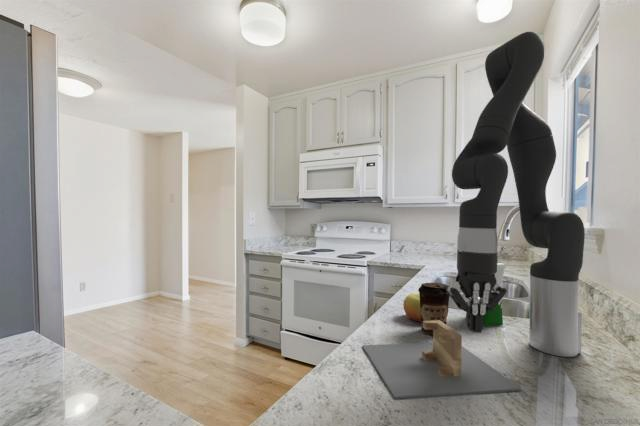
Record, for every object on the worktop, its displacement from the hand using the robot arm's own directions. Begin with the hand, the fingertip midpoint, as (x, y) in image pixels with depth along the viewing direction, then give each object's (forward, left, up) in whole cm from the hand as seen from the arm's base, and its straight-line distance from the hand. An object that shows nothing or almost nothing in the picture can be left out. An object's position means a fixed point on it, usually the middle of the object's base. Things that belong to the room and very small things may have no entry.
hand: (474, 331), depth 62 cm
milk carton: (-21, -25, -8) cm, 33 cm away
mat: (+9, -1, -7) cm, 12 cm away
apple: (-2, -28, -8) cm, 29 cm away
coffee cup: (-1, -18, -8) cm, 19 cm away
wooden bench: (+8, 0, -7) cm, 10 cm away
